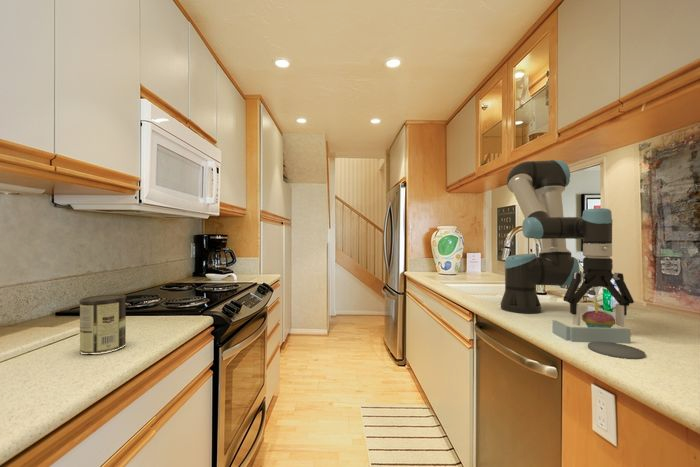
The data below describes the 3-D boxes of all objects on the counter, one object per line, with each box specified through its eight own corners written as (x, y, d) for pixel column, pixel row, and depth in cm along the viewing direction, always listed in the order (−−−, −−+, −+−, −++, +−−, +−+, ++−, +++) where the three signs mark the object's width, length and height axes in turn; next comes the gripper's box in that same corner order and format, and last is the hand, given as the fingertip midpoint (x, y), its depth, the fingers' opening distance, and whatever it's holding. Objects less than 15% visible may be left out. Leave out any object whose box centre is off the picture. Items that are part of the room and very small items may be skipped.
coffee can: (106, 341, 97) (107, 293, 98) (134, 344, 95) (135, 295, 95) (68, 353, 88) (69, 299, 88) (98, 357, 85) (99, 301, 85)
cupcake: (610, 339, 100) (610, 299, 100) (577, 333, 106) (577, 295, 107) (618, 334, 105) (618, 295, 106) (586, 328, 112) (586, 292, 112)
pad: (578, 343, 96) (578, 341, 96) (623, 344, 95) (623, 342, 95) (606, 358, 84) (606, 355, 84) (658, 359, 83) (658, 357, 83)
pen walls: (552, 332, 107) (552, 320, 107) (609, 334, 105) (609, 321, 105) (568, 341, 98) (568, 327, 98) (630, 343, 96) (630, 329, 96)
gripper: (563, 257, 104) (563, 327, 103) (648, 258, 101) (649, 329, 101) (551, 256, 111) (551, 321, 111) (629, 256, 109) (630, 323, 109)
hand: (598, 325), depth 106 cm, fingers open, 12 cm apart
